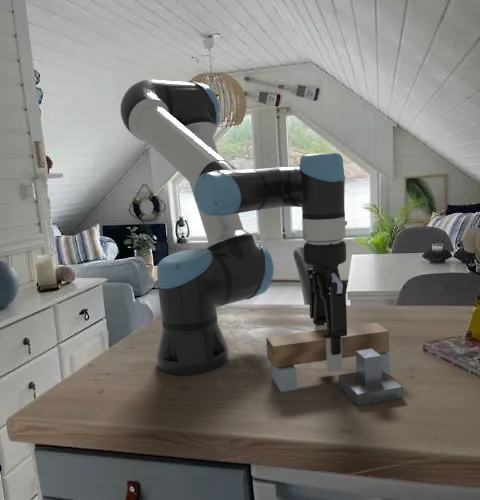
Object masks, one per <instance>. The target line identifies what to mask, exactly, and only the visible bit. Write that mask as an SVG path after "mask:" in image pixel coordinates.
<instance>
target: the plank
mask: <svg viewBox="0 0 480 500" xmlns="http://www.w3.org/2000/svg"><path fill="white" fill-rule="evenodd" d="M325 334H328V332H327V329H325V330H317V331H315V330H311V331H310V330H309V331H302V332H295V333H287V334H279V335H270V336H266V337H265V338H266V353H267V354H266V356H267V359H268V360H269V362H270V363H272V365H273V366H274V368H276V367H283V366H290V365H294V366H296V365H304V364H311V363H319V362H325V361H326V338H325V337H324V335H325ZM341 341H342V359H345V358H353V357H356V351H359V350H365V349H373V350H374V351H376V352H377V353H383V352H387V353H389V352H390V331H389V330H388V329H386V328H385V327H383V326H382V325H380V324H379V323H377V322H373V323H372V322H371V323H365V324H357V325H349V326H348V325H347V336H341Z"/></svg>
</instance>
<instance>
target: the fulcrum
mask: <svg viewBox="0 0 480 500" xmlns="http://www.w3.org/2000/svg"><path fill="white" fill-rule="evenodd" d="M355 362H356V363H355V367H356V368H355V369H356V371H355V372H349V373H344V374H338V387H339V388H340V389H341V390H342V391H344V393H345V394H346V395H347V396H348V397H349V398H350V399H351V400H352V401H353V402H354V403H355V405H356V406H358V407H359V406H363V405H369V404H370V405H371V404H376V403H382V402H387V401H394V400H400V399H403V397H404V395H403V394H404V393H403V386H402V385H401V384H400V383H398V381H396V380H394V379H393V378H392V377H391V376H390V375H387V374H386V373H385V372H383V371H382V363H381V355H380V354H378V353H377V352H376V351H374V350H373V349H365V350H359V351H356V356H355Z"/></svg>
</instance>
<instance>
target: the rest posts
mask: <svg viewBox="0 0 480 500" xmlns="http://www.w3.org/2000/svg"><path fill="white" fill-rule="evenodd" d="M378 354H380V355H381V363H382V371H383V372H385V373H386V374H387V375H388V376H390V374H391V369H390V366H391V365H390V364H391V363H390V361H391V360H390V353H389V352H383V353H378ZM270 363H271V362H270ZM270 366H271V379H272V381H273V382H274V384H275V385H276V387H277V388H278V390H279V391H280V393H285V392H290V391H296V390H297V391H298V380H297V368H296V366H295V365H290V366H283V367H276V368H274V366H273V365H272V363H271V365H270Z"/></svg>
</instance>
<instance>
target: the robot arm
mask: <svg viewBox="0 0 480 500" xmlns="http://www.w3.org/2000/svg"><path fill="white" fill-rule="evenodd" d="M119 111H120V117H121V120H122V123H123V124H124V127H125V128H126V129H127V130H128V132H130V134H132V136H133V137H134V138H136V139H137V140H140V141H143V142H144V141H145V142H147V143H148V144H149V145H150V146H151V147H152V148H153V149H154V150H155V151H156V152H157V153H158V154H159V155H160V156H161V157H162V158H163V159H165V160H166V161H167V162H168V163H169V164H170V165H171V166H172V167H173V168H174V169H175V170H176V171H177V172H178V173H180V175H182V177H183V178H185V179H186V180H187V181H188V182H189V187H190V189H191V192H192V196H193V198H194V201H195V204H196V208H197V210H198V213H199V217H200V220H201V224H202V226H203V230H204V233H205V235H206V239H207V244H206V246H204V248H192V249H185V250H181V251H178V252H174V253H173V254H169V255H167V256H165V257H164V258H161V260H160V261H159V263H158V264H157V269H156V275H157V280H156V284H157V287H158V296H159V297H158V298H159V305H160V306H159V307H160V314H161V326H162V331H161V336H160V341H159V345H158V349H157V353H156V354H157V355H156V359H157V367H158V368H159V370H161V371H162V372H165V373H167V374H171V375H172V374H173V375H178V376H179V375H181V376H183V375H185V376H187V375H196V374H203V373H207V372H211V371H214V370H217V369H219V368H220V367H222V366H224V365H225V364H226V363H227V362H228V361H229V348H228V345H227V341H226V340H225V338H224V335H223V333H222V331H221V328H220V326H219V324H218V323H219V322H218V313H217V312H218V310H217V308H219V307H223V306H225V305H229V304H230V305H231V304H234V303H237V302H240V301H244V300H250V299H253V298H255V297H257V296H260V295H263V294H264V293H265V292H267V291H268V289H269V288H270V286H271V284H272V280H273V278H274V271H275V270H274V261H273V258H272V255H271V253H270V251H269V250H268V249H267V248H266V247H265V246H264V245H261V244H259V243H256V240H255V238H254V235H253V234H252V233H251V232H249V231H246V230H245V229H244V227H243V226H244V225H243V224H242V220H241V218H240V215H239V214H241V213H242V214H243V213H247V212H254V211H260V210H269V209H276V208H284V207H285V208H286V207H290V208H292V207H293V208H301V214H302V216H301V217H302V218H301V222H302V223H301V224H302V228H301V229H302V239H303V241H305V242H304V244H303V261H304V263H305V264H307V265H310V266H312V267H311V268H307V270H306V271H307V273H306V274H307V278H308V299H309V300H308V301H309V303H308V304H309V318H310V320H311V319H312V323H313V325H314V331H317V330H325V329H327V332H328V334H325V335H324V337H325V338H326V362H325V363H326V371H327V372H333V371H340V370H343V358H342V341H341V336H347V327H348V322H347V321H348V318H347V316H348V315H347V288H348V282H347V281H341V275H340V272H339V266H340V265H341V264H344V263H345V262H346V261H347V243H346V242H345V241H344V240H345V238H346V226H347V225H348V221H347V220H346V211H345V209H346V208H345V191H346V190H345V188H346V187H345V186H346V185H345V181H346V176H345V170H344V168H345V167H344V160H343V156H342V155H341V154H340V153H339V152H327V153H325V152H323V153H311V154H310V153H308V154H302V155H301V156H300V161H299V166H269V167H267V168H263V167H262V168H252V169H251V168H249V169H237V168H236V167H235V166H233V164H231V163H230V162H228V161H227V160H226V159H225V158H223V156H221V155H220V154H219V151H218V149H217V148H218V147H217V146H216V142H215V139H214V135H215V134H216V132H217V126H218V124H219V121H220V118H221V115H220V114H219V112H221V108H220V102H219V99H218V97H217V95H216V93H215V91H214V90H213V89H212V88H211V87H210V86H208V85H207V84H204V83H201V82H196V81H190V80H187V81H174V80H173V81H172V80H162V79H161V80H159V79H158V80H157V79H145V80H140V81H139V82H136V83H134V84H133V85H131V86H130V87H129V88H128V89H127V90H126V92H125V93H124V95H123V97H122V99H121V103H120V110H119Z"/></svg>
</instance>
